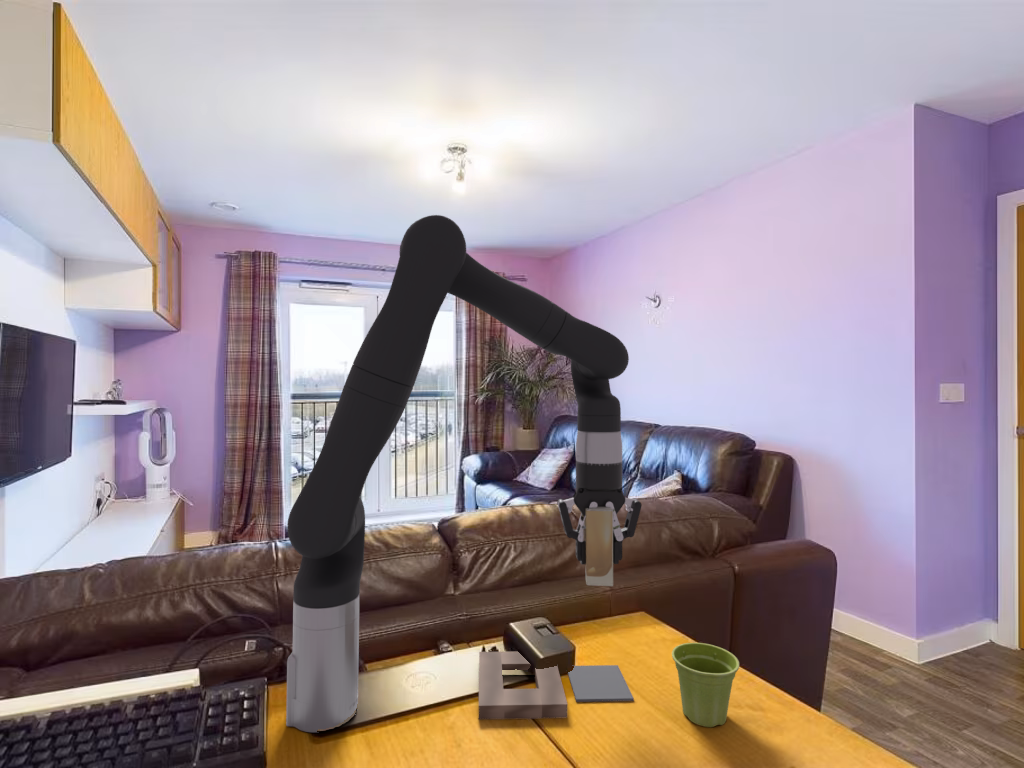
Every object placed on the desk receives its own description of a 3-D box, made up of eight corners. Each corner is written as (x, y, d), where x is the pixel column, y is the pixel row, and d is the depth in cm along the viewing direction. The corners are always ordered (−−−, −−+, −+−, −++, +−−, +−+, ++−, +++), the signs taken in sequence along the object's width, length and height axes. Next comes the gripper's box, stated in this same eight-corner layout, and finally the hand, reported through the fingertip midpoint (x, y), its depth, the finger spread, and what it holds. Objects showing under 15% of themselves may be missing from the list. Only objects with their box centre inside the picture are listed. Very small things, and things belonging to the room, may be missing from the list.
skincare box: (585, 572, 92) (584, 500, 92) (611, 573, 92) (610, 500, 92) (586, 586, 86) (585, 509, 86) (614, 587, 85) (613, 509, 85)
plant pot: (737, 743, 74) (737, 680, 75) (666, 724, 78) (667, 664, 78) (739, 707, 83) (740, 650, 83) (675, 691, 87) (676, 637, 87)
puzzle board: (478, 719, 79) (478, 705, 79) (479, 663, 95) (479, 651, 95) (567, 717, 80) (567, 704, 80) (553, 662, 96) (553, 651, 96)
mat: (576, 701, 84) (576, 699, 84) (566, 668, 94) (566, 665, 94) (633, 700, 84) (633, 698, 84) (617, 667, 94) (617, 665, 94)
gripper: (558, 462, 85) (558, 571, 85) (649, 461, 86) (649, 569, 85) (552, 455, 92) (552, 556, 92) (635, 455, 93) (635, 555, 93)
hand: (599, 562), depth 89 cm, fingers closed on skincare box, 4 cm apart
